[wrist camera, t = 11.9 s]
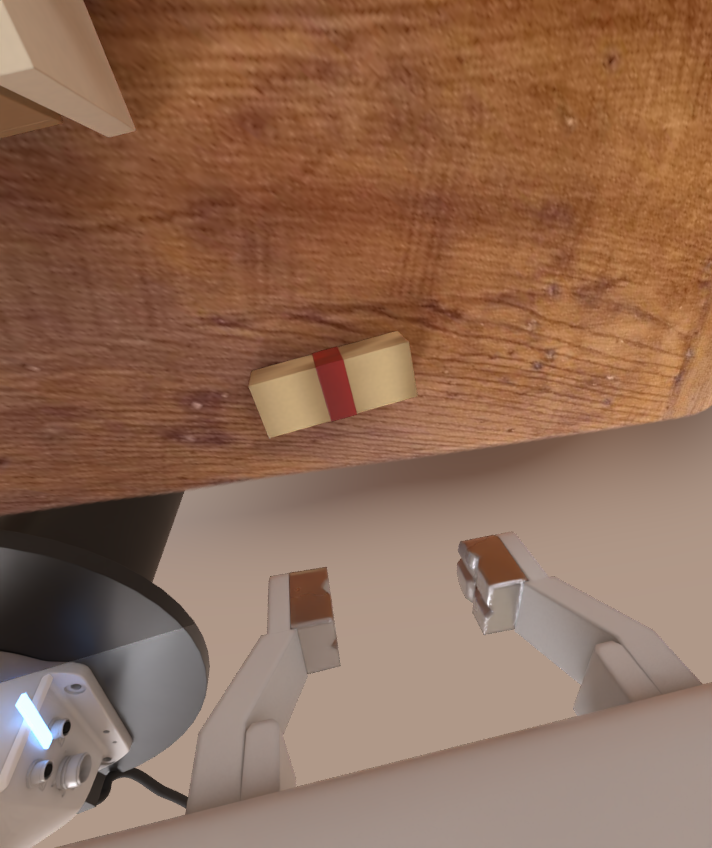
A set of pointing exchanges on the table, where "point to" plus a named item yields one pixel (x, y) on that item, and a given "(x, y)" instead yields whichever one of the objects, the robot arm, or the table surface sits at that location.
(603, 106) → the table surface
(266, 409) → the block
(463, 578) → the robot arm
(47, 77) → the drawer
